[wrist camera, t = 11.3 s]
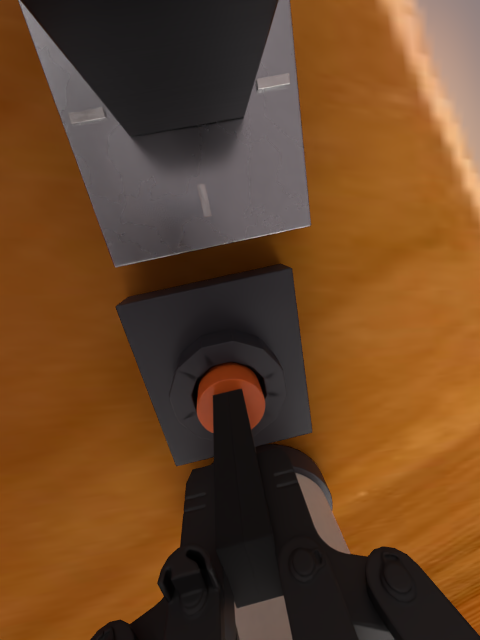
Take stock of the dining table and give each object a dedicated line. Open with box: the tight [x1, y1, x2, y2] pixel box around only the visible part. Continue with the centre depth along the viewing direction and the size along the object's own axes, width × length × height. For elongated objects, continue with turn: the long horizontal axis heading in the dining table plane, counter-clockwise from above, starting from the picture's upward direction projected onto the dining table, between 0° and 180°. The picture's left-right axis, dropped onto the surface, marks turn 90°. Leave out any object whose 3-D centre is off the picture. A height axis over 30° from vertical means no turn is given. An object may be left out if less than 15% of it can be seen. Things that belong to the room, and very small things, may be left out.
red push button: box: [197, 363, 265, 433], centre depth 14 cm, size 4×4×2 cm
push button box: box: [116, 264, 312, 466], centre depth 16 cm, size 12×10×4 cm
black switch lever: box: [20, 0, 279, 137], centre depth 7 cm, size 5×2×7 cm, turn 101°
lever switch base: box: [18, 0, 311, 267], centre depth 12 cm, size 12×10×3 cm
